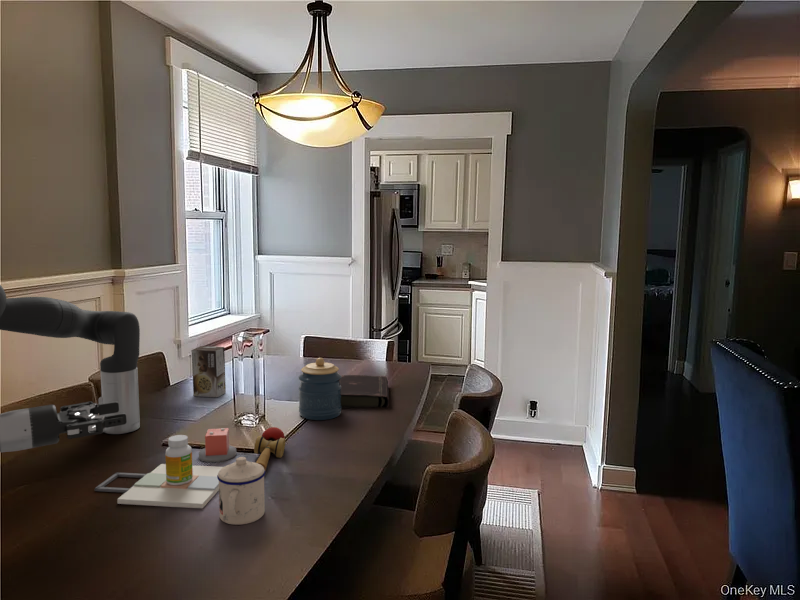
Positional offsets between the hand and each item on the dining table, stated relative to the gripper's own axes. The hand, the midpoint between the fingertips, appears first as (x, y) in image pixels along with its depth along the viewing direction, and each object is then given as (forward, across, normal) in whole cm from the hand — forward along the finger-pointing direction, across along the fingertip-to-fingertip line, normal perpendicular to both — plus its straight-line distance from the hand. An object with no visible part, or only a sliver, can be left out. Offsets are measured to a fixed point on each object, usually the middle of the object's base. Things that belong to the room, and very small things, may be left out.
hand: (122, 412), depth 118 cm
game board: (+8, +2, +19) cm, 20 cm away
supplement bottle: (+10, 0, +18) cm, 21 cm away
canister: (+59, +28, +20) cm, 69 cm away
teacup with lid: (+16, -21, +19) cm, 33 cm away
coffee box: (+37, +67, +21) cm, 80 cm away
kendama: (+32, +3, +20) cm, 38 cm away
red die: (+23, +13, +19) cm, 32 cm away
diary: (+79, +37, +22) cm, 90 cm away
